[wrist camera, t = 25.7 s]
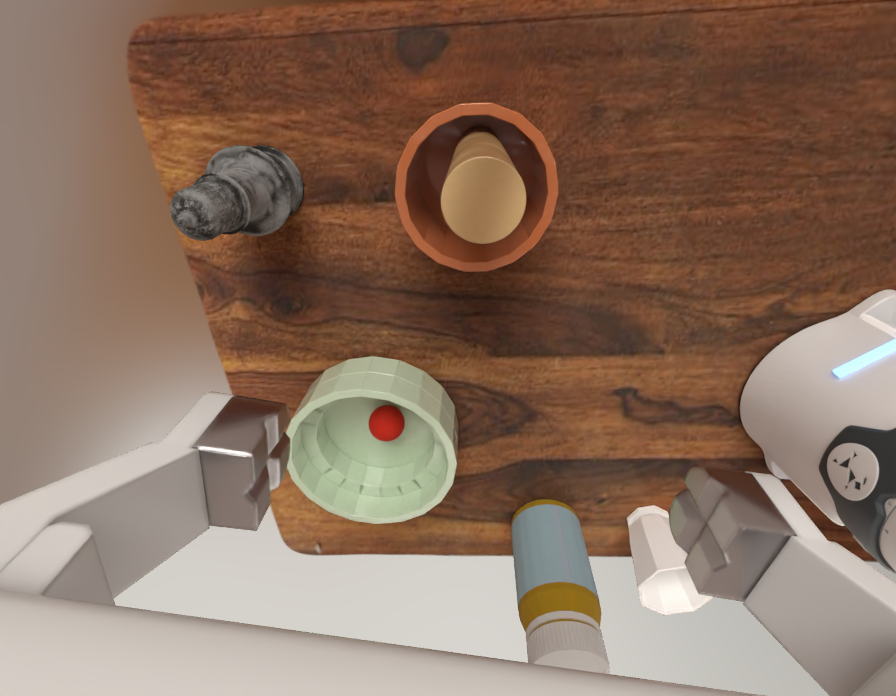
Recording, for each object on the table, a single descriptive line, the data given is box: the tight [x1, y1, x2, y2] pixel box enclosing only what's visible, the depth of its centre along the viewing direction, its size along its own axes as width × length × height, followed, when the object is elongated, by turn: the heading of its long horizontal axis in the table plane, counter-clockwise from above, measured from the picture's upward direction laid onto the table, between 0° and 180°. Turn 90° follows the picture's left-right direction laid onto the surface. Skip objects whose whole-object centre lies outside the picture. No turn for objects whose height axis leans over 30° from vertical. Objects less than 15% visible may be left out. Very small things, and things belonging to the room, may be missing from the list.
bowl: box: [286, 356, 459, 524], centre depth 42 cm, size 14×14×6 cm
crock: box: [395, 101, 559, 271], centre depth 30 cm, size 9×9×8 cm
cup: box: [627, 505, 713, 615], centre depth 46 cm, size 7×10×8 cm
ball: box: [368, 405, 405, 442], centre depth 42 cm, size 3×3×3 cm
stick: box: [441, 125, 526, 244], centre depth 24 cm, size 3×3×18 cm
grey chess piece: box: [170, 145, 304, 241], centre depth 30 cm, size 6×6×12 cm
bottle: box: [511, 499, 609, 674], centre depth 43 cm, size 7×7×15 cm
